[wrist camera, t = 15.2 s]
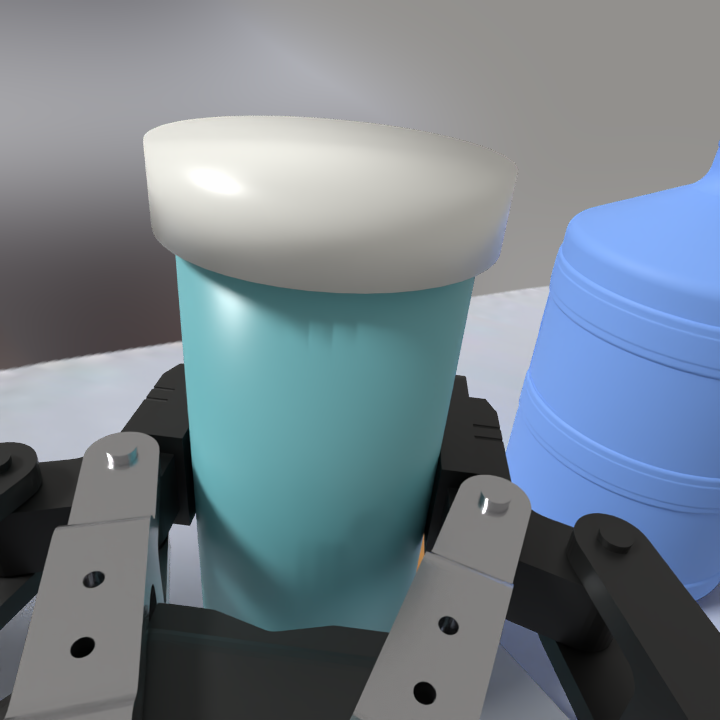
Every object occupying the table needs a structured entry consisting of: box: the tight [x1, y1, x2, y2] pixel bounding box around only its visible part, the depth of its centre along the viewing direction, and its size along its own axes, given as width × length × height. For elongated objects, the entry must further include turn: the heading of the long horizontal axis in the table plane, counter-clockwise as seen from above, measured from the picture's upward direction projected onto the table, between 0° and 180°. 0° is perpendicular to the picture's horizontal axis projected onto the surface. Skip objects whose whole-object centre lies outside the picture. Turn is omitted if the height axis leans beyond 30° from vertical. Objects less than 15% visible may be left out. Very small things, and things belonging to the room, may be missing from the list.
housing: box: [479, 643, 570, 720], centre depth 25 cm, size 14×19×9 cm
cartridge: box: [143, 116, 518, 632], centre depth 12 cm, size 5×5×14 cm
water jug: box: [505, 140, 720, 601], centre depth 35 cm, size 16×16×28 cm
